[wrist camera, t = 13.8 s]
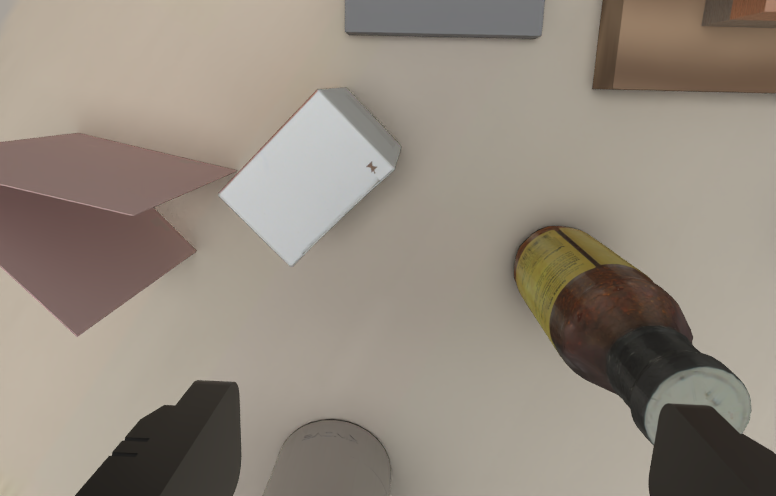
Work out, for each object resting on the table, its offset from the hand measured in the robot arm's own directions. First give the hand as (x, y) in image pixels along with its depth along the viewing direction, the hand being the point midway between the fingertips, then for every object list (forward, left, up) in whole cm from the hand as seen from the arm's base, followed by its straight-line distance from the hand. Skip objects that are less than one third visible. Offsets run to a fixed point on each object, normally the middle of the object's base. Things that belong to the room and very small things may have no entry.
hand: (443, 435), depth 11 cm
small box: (+2, +6, -30) cm, 30 cm away
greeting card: (+1, +18, -30) cm, 35 cm away
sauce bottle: (-5, -10, -30) cm, 32 cm away
